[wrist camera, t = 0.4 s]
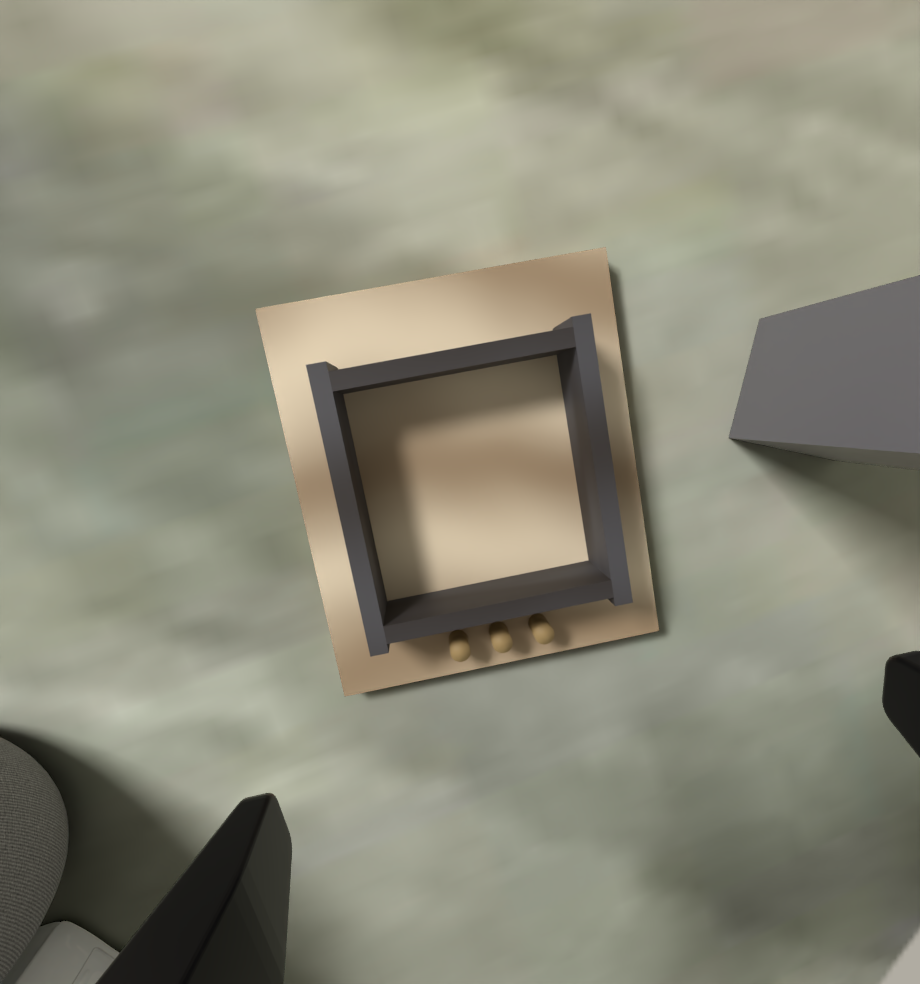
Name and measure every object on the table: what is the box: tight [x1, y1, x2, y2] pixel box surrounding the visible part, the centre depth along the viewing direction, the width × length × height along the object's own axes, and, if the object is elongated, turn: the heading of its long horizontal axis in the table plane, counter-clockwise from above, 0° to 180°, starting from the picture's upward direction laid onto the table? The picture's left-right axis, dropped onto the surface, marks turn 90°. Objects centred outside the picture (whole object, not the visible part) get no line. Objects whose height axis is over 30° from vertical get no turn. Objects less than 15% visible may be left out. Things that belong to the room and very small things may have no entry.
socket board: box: [256, 247, 659, 696], centre depth 20 cm, size 14×12×4 cm
